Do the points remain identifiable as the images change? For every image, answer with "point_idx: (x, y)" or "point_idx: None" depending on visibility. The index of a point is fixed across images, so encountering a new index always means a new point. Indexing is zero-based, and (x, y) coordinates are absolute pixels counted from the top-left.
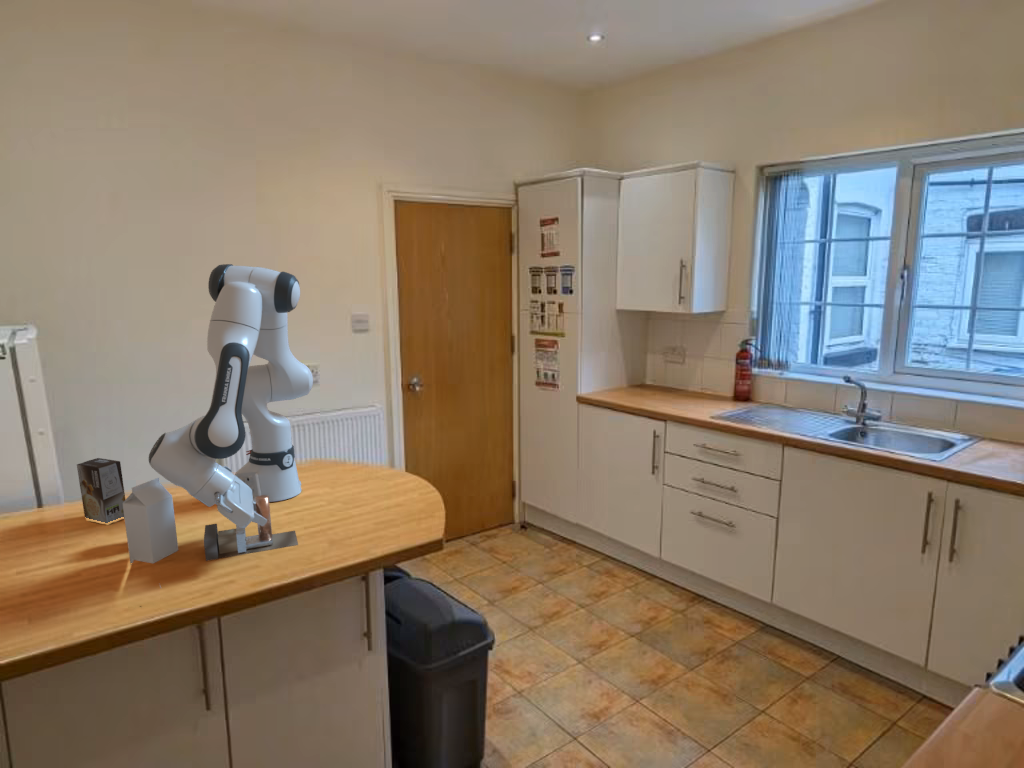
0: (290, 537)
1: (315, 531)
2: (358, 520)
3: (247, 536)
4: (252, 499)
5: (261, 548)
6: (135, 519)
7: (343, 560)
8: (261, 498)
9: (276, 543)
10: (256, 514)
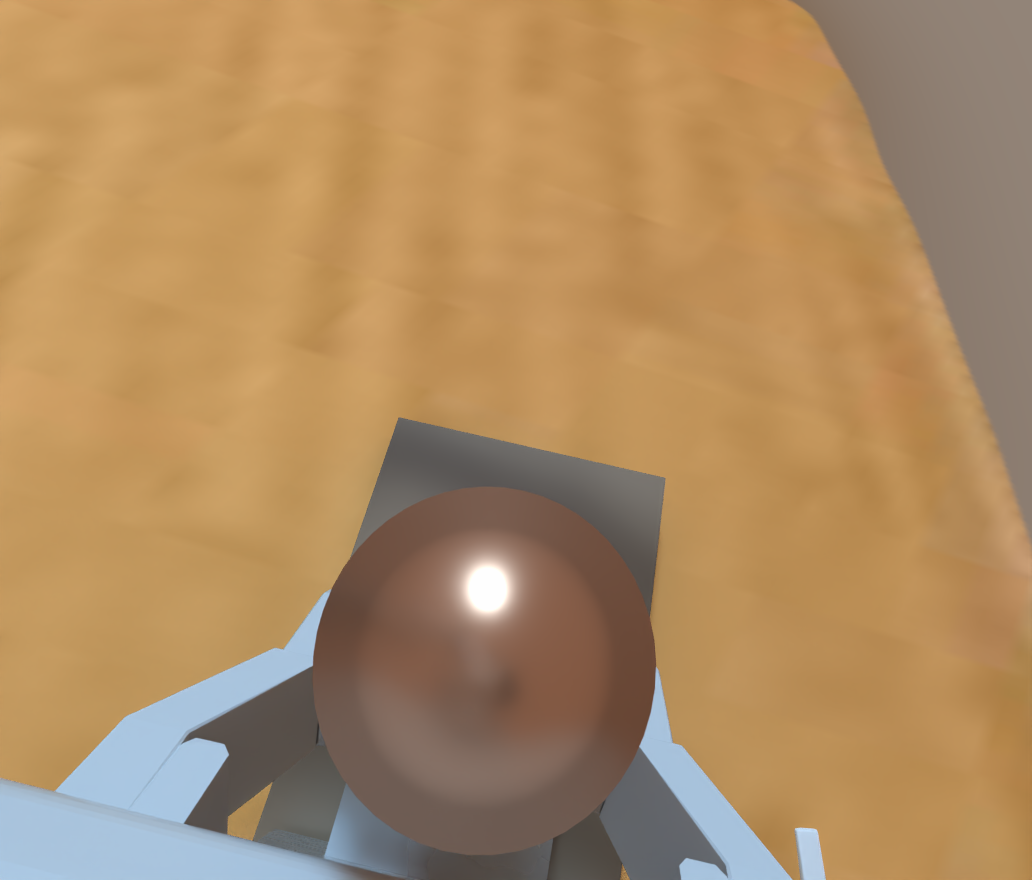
0: (503, 481)
1: (417, 319)
2: (433, 119)
3: (332, 833)
4: (220, 857)
5: None
6: None
7: (902, 343)
8: (561, 682)
9: None
10: (782, 877)
